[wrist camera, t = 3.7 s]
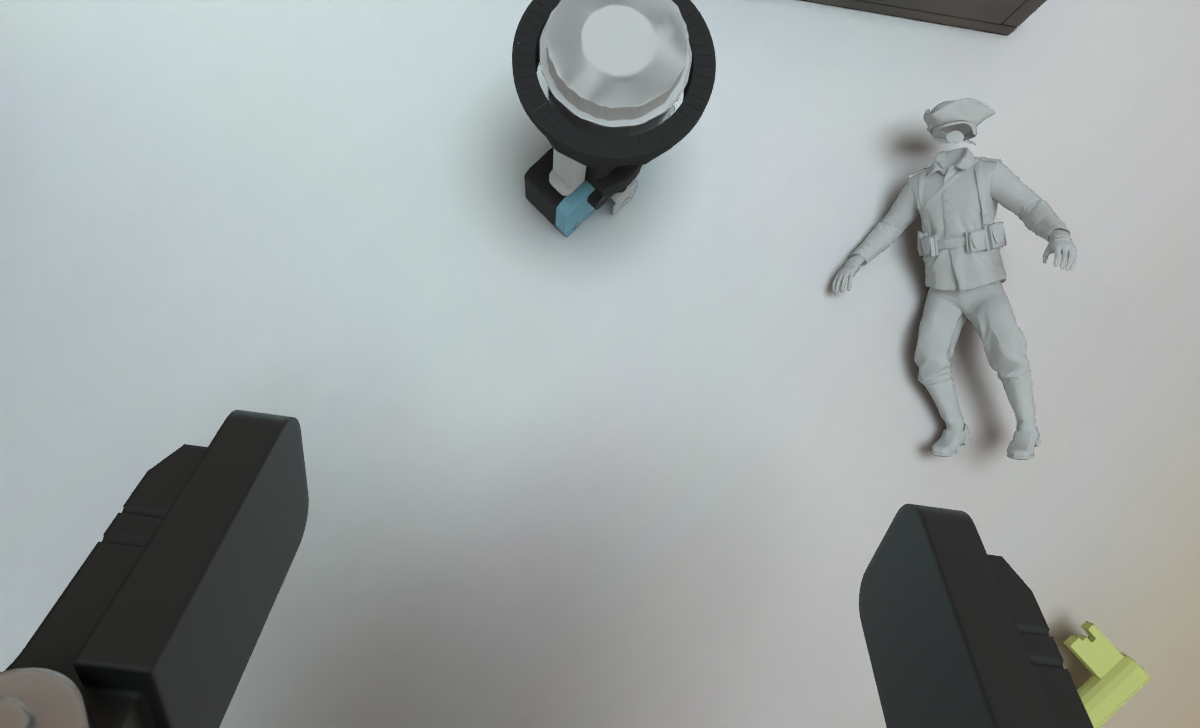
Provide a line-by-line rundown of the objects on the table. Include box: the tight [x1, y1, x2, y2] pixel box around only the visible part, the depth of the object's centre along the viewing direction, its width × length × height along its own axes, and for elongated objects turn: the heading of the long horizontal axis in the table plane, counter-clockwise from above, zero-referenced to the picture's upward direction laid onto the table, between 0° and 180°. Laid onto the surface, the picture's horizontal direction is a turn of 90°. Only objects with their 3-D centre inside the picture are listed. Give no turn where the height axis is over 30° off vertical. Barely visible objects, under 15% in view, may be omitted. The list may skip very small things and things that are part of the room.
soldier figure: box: [832, 98, 1077, 460], centre depth 28 cm, size 8×5×12 cm
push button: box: [512, 0, 716, 237], centre depth 25 cm, size 7×5×10 cm
